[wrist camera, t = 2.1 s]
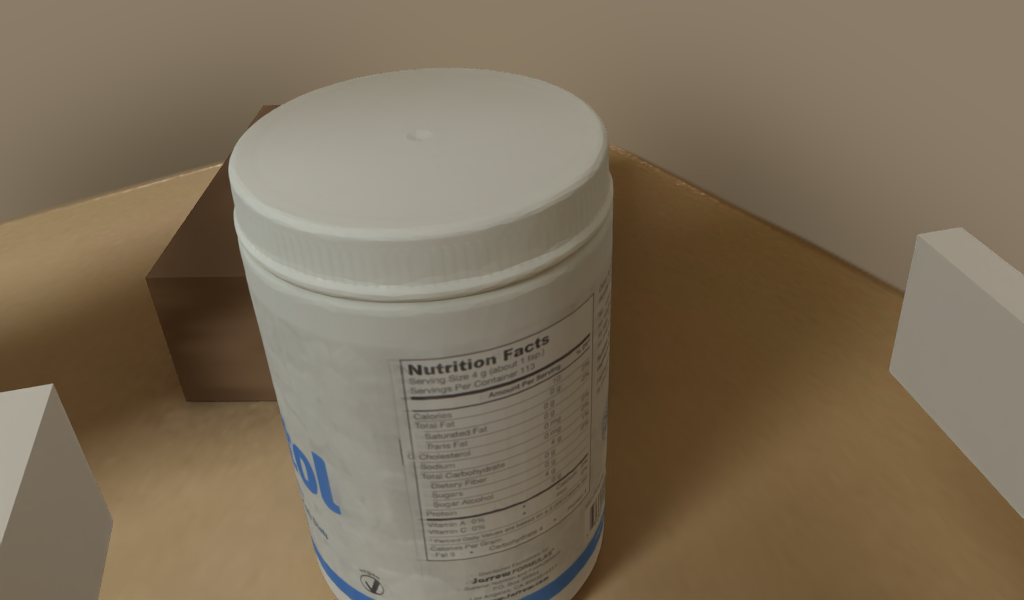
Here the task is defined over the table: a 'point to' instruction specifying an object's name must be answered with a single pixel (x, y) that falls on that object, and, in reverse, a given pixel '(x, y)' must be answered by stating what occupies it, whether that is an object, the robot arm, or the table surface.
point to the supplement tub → (437, 327)
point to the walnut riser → (211, 303)
